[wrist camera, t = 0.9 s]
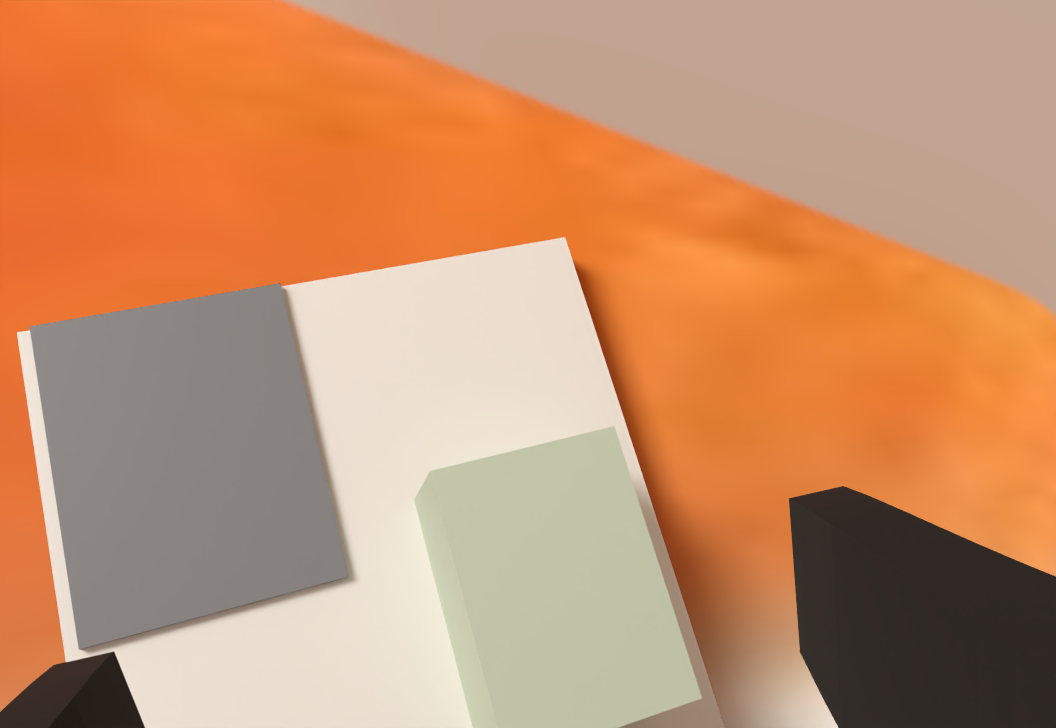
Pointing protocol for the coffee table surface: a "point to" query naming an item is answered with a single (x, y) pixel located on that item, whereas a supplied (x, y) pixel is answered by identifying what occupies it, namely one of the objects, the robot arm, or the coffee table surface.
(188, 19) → the coffee table surface
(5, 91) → the coffee table surface
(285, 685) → the board
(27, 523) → the coffee table surface
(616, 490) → the sage brick
